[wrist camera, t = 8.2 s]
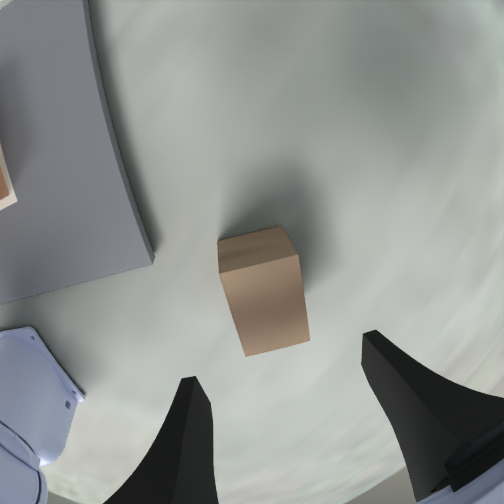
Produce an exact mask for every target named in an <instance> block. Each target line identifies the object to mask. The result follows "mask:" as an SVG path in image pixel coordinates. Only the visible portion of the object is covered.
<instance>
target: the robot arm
mask: <svg viewBox="0 0 504 504" xmlns="http://www.w3.org/2000/svg"><path fill="white" fill-rule="evenodd" d="M361 365H362V368H363V370H364V373H365V375H366V378H367V380H368V382H369V385H370V386H371V388H372V390H373V392H374V394H375V395H376V397H377V399H378V401H379V403H380V404H381V406H382V408H383V410H384V412H385V413H386V415H387V417H388V419H389V421H390V423H391V425H392V427H393V429H394V432H395V434H396V437H397V440H398V442H399V445H400V448H401V450H402V453H403V456H404V459H405V462H406V466H407V469H408V472H409V476H410V479H411V483H412V487H413V491H414V496H415V499H416V501H417V503H415V504H504V398H502V397H497V396H492V395H488V394H484V393H481V392H478V391H475V390H472V389H469V388H467V387H464V386H462V385H459V384H457V383H454V382H452V381H450V380H448V379H446V378H444V377H442V376H440V375H439V374H437V373H435V372H433V371H432V370H430V369H428V368H427V367H425V366H424V365H422V364H421V363H419V362H418V361H416V360H415V359H413V358H412V357H410V356H409V355H408V354H406V353H405V352H404V351H402V350H401V349H400V348H398V347H397V346H396V345H395V344H393V343H392V342H391V341H389V340H388V339H387V338H386V337H385V336H383V335H382V334H381V333H380V332H378V331H377V330H373V331H370V332H367V333H364V334H363V341H362V361H361ZM84 400H85V397H84V395H83V394H82V393H81V392H80V391H79V389H78V388H77V387H76V386H75V385H74V383H73V382H72V381H71V380H70V378H69V377H68V376H67V374H66V373H65V372H64V371H63V369H62V368H61V367H60V365H59V364H58V363H57V361H56V360H55V359H54V357H53V356H52V354H51V353H50V352H49V350H48V349H47V347H46V346H45V344H44V343H43V342H42V340H41V339H40V337H39V336H38V334H37V333H36V331H35V330H34V328H32V327H30V326H28V327H22V328H17V329H12V330H6V331H1V332H0V504H46V503H47V495H48V490H47V483H46V479H45V476H44V474H43V472H42V471H41V470H40V469H39V466H45V465H49V464H51V463H53V462H54V461H55V460H57V458H58V457H59V456H60V455H61V453H62V452H63V450H64V447H65V444H66V441H67V437H68V433H69V430H70V426H71V423H72V419H73V416H74V412H75V409H76V406H77V403H78V402H83V401H84ZM103 504H219V503H218V497H217V491H216V485H215V477H214V466H213V418H212V410H211V403H210V401H209V399H208V397H207V396H206V394H205V392H204V390H203V388H202V387H201V385H200V383H199V381H198V379H197V377H196V376H193V377H187V378H182V379H181V381H180V384H179V387H178V389H177V392H176V395H175V397H174V400H173V402H172V405H171V407H170V409H169V412H168V414H167V416H166V418H165V421H164V423H163V425H162V427H161V429H160V431H159V433H158V435H157V437H156V439H155V440H154V442H153V444H152V446H151V447H150V449H149V451H148V452H147V454H146V455H145V457H144V458H143V460H142V461H141V463H140V464H139V465H138V467H137V468H136V470H135V471H134V472H133V473H132V475H131V476H130V477H129V478H128V479H127V480H126V481H125V483H124V484H123V485H122V486H121V487H120V488H119V489H118V490H117V491H116V492H115V493H114V494H113V495H112V496H111V497H110V498H109V499H108V500H107V501H105V502H104V503H103Z"/></svg>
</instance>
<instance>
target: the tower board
mask: <svg viewBox="0 0 504 504" xmlns="http://www.w3.org/2000/svg"><path fill="white" fill-rule="evenodd" d="M0 166H1V170H2V173H3V176H4V180H5V183H6V186H7V189H8V192H9V196H7V197H5V198H3V199H2V200H0V305H1V304H4V303H8V302H12V301H15V300H19V299H23V298H27V297H30V296H34V295H38V294H41V293H45V292H49V291H53V290H56V289H60V288H64V287H68V286H72V285H75V284H79V283H83V282H87V281H91V280H95V279H98V278H102V277H106V276H110V275H114V274H118V273H122V272H125V271H129V270H133V269H137V268H141V267H145V266H149V265H152V264H153V262H154V259H155V255H154V253H153V250H152V247H151V245H150V242H149V239H148V237H147V234H146V231H145V228H144V225H143V223H142V220H141V217H140V214H139V211H138V208H137V205H136V202H135V199H134V196H133V193H132V190H131V187H130V184H129V180H128V177H127V174H126V171H125V167H124V164H123V161H122V157H121V154H120V150H119V147H118V143H117V140H116V136H115V132H114V129H113V125H112V121H111V117H110V113H109V109H108V105H107V101H106V96H105V92H104V88H103V83H102V79H101V74H100V69H99V64H98V59H97V54H96V48H95V43H94V37H93V31H92V25H91V18H90V11H89V3H88V0H14V1H13V2H11V3H10V4H9V5H7V6H6V7H5V8H3V9H2V10H0Z"/></svg>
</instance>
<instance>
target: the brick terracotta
mask: <svg viewBox="0 0 504 504" xmlns="http://www.w3.org/2000/svg"><path fill="white" fill-rule="evenodd" d="M7 196H9V192H8V189H7V186H6V183H5V180H4V176H3V173H2V170H1V166H0V200H2V199H3V198H5V197H7Z"/></svg>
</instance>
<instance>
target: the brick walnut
mask: <svg viewBox="0 0 504 504" xmlns="http://www.w3.org/2000/svg"><path fill="white" fill-rule="evenodd" d="M217 245H218V264H219V275H220V279H221V282H222V285H223V288H224V292H225V295H226V298H227V301H228V304H229V307H230V311H231V314H232V317H233V320H234V323H235V326H236V329H237V332H238V335H239V338H240V341H241V345H242V348H243V351H244V354H245V357H247V356H252V355H256V354H260V353H264V352H268V351H273V350H277V349H280V348H284V347H288V346H292V345H296V344H299V343H303V342H307V341H310V335H309V327H308V319H307V312H306V304H305V297H304V289H303V282H302V275H301V268H300V262H299V255H298V253H297V251H296V249H295V248H294V246H293V244H292V243H291V241H290V239H289V237H288V236H287V234H286V232H285V231H284V229H283V227H282V226H277V227H273V228H269V229H264V230H260V231H256V232H252V233H248V234H244V235H240V236H236V237H232V238H228V239H223V240H219V241H217Z"/></svg>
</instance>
